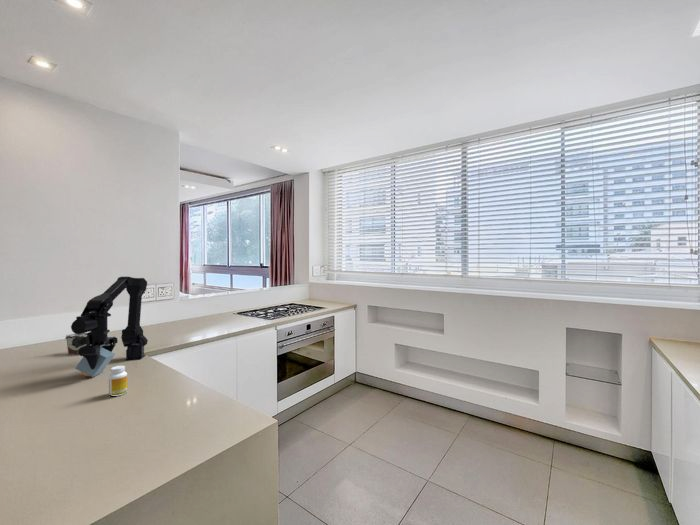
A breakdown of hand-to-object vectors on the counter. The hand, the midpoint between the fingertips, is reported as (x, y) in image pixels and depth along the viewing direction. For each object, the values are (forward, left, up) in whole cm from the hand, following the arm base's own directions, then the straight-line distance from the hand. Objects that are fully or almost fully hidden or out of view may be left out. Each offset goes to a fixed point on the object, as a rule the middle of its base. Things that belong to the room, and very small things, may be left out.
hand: (98, 365), depth 132 cm
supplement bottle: (-17, +24, -4) cm, 30 cm away
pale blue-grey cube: (+4, 0, -2) cm, 4 cm away
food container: (+27, -40, -4) cm, 48 cm away
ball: (+4, 0, -2) cm, 4 cm away
